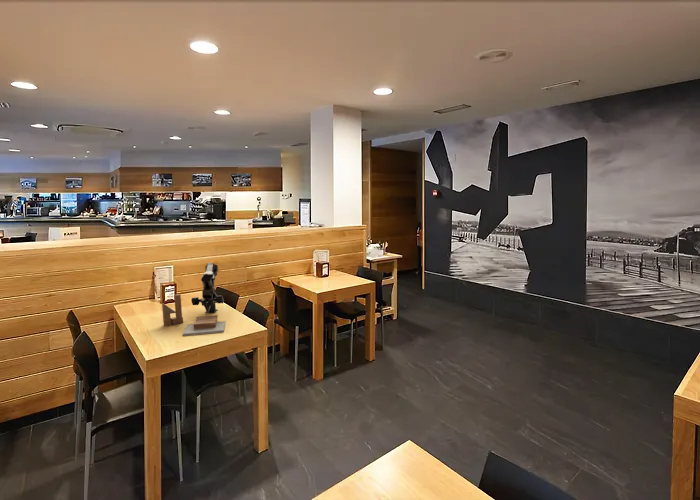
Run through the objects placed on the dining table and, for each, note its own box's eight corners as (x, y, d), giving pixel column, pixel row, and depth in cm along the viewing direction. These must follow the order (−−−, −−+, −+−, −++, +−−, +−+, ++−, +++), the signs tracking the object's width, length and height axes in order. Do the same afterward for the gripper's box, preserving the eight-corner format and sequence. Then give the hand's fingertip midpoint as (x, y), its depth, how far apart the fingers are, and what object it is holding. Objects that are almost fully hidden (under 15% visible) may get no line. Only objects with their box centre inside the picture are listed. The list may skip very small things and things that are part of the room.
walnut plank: (196, 316, 245) (193, 324, 232) (217, 315, 248) (215, 322, 234) (197, 321, 246) (194, 329, 232) (217, 319, 248) (215, 327, 235)
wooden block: (163, 325, 245) (161, 296, 242) (181, 321, 251) (179, 293, 249) (165, 326, 242) (162, 297, 239) (183, 322, 248) (181, 294, 246)
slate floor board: (187, 325, 242) (187, 323, 242) (225, 322, 247) (225, 320, 247) (182, 335, 225) (182, 333, 224) (223, 332, 230) (223, 329, 230)
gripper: (190, 285, 249) (189, 307, 241) (221, 283, 254) (221, 304, 245) (193, 294, 258) (192, 315, 249) (223, 292, 263) (223, 313, 254)
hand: (207, 312), depth 249 cm, fingers closed
